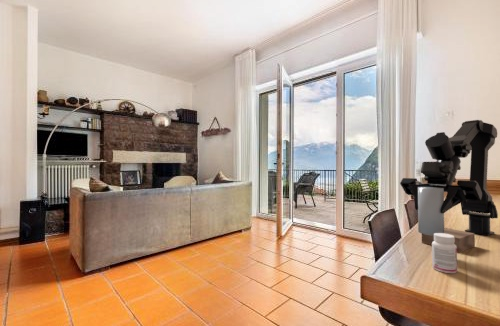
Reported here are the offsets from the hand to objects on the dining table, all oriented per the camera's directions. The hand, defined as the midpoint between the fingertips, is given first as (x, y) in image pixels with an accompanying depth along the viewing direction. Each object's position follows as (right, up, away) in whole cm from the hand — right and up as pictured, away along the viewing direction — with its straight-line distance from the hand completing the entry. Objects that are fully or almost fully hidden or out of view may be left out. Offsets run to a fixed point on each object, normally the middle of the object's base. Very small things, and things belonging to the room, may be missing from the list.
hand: (428, 210), depth 69 cm
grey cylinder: (+1, -7, +1) cm, 7 cm away
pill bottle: (-3, -13, -10) cm, 16 cm away
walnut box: (+12, -12, +8) cm, 19 cm away
